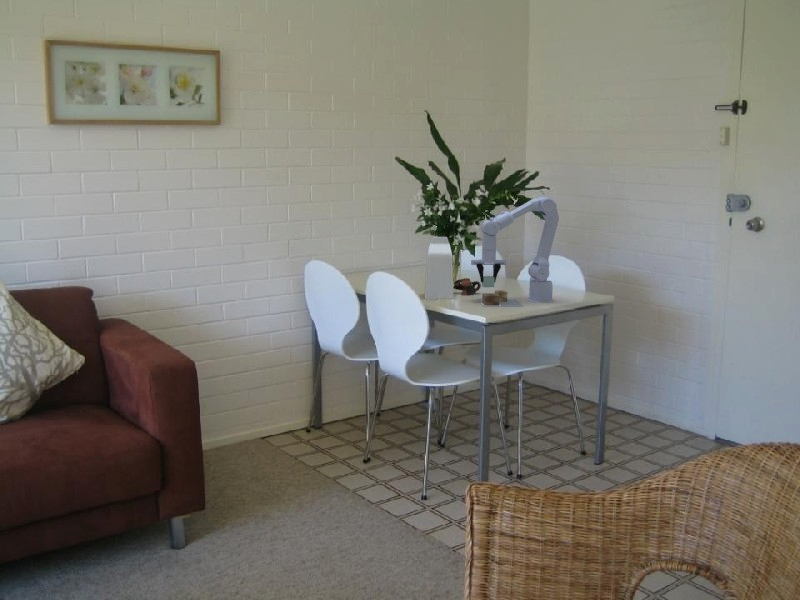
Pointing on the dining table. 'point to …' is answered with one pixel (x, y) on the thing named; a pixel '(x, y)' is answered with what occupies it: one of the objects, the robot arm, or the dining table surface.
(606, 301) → the dining table surface
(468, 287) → the pottery mug
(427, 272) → the milk
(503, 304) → the blueprint mat
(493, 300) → the walnut base
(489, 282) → the teal block
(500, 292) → the oak block
